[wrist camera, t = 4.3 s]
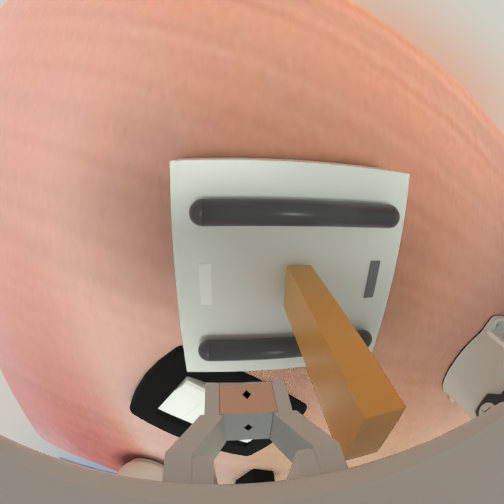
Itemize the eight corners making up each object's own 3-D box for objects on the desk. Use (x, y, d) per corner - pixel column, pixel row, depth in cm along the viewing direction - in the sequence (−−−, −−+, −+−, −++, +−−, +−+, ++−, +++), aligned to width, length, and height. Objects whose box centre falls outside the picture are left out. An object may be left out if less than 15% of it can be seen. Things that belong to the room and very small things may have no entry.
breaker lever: (310, 265, 18) (406, 406, 7) (305, 304, 19) (377, 451, 8) (286, 265, 18) (364, 418, 7) (283, 305, 19) (340, 461, 8)
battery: (234, 481, 39) (238, 525, 29) (252, 468, 37) (259, 517, 28) (254, 483, 40) (260, 526, 31) (274, 470, 38) (283, 517, 29)
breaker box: (376, 167, 22) (422, 177, 16) (350, 327, 28) (377, 368, 21) (181, 158, 20) (164, 162, 14) (191, 335, 26) (185, 385, 20)
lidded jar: (165, 481, 38) (162, 521, 29) (112, 462, 35) (103, 503, 26) (190, 465, 35) (189, 513, 27) (128, 444, 32) (119, 493, 24)
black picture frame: (320, 411, 30) (250, 465, 32) (313, 396, 33) (247, 450, 35) (175, 344, 24) (118, 417, 26) (177, 327, 27) (122, 401, 29)
